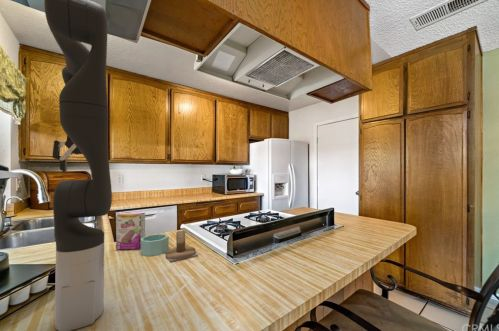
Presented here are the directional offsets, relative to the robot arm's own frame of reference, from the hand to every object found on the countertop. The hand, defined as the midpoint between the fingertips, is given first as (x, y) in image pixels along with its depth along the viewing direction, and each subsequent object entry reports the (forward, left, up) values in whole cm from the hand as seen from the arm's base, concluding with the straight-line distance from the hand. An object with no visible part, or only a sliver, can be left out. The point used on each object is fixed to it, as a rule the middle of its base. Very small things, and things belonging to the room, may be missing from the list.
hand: (80, 172), depth 73 cm
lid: (+1, -34, -35) cm, 49 cm away
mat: (+1, -34, -36) cm, 49 cm away
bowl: (+12, -25, -36) cm, 45 cm away
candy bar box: (+22, -16, -36) cm, 45 cm away
